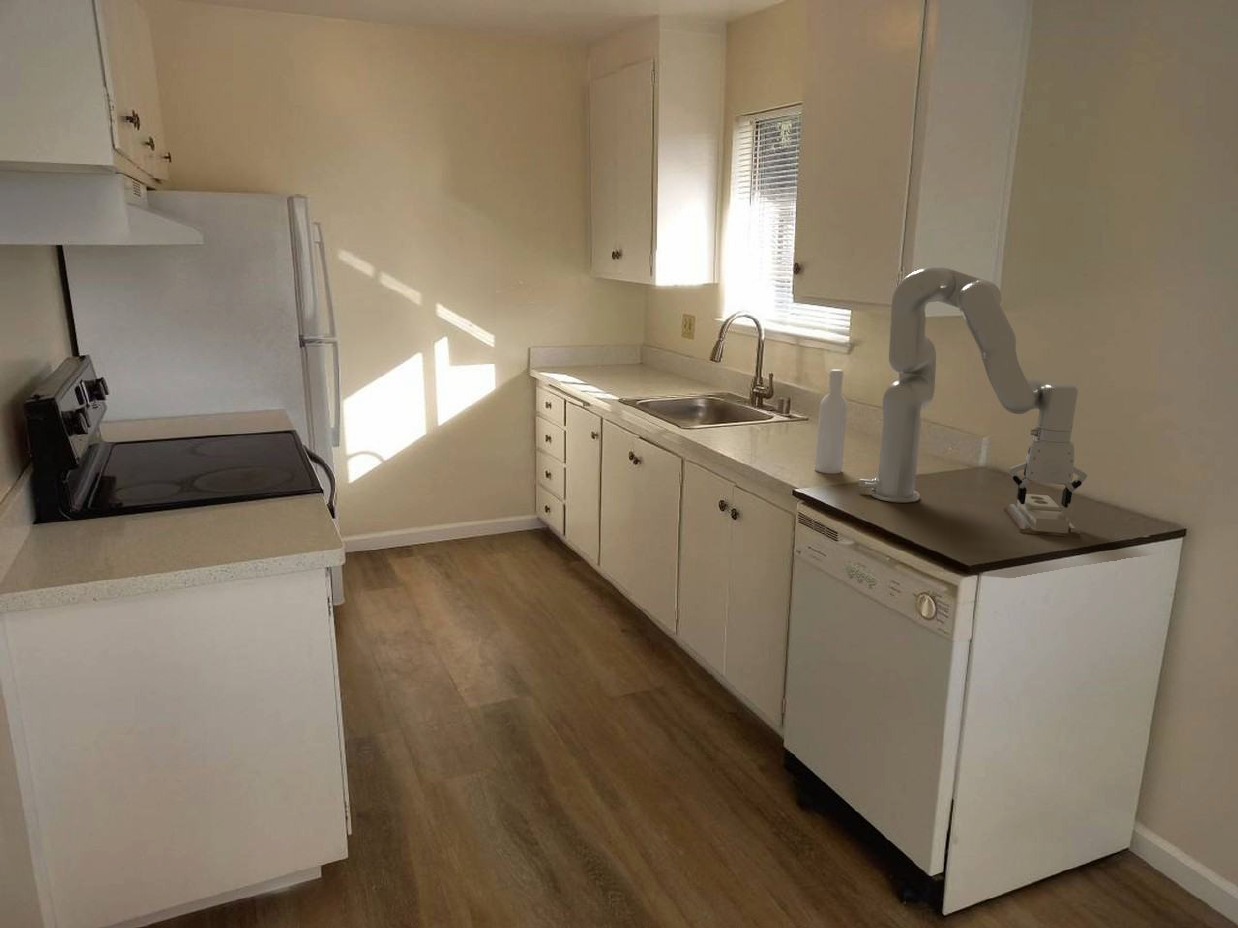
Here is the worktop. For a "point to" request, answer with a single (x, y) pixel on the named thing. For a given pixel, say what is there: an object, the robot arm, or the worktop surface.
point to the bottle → (832, 427)
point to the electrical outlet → (1043, 514)
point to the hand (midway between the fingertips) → (1042, 504)
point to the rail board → (1026, 527)
